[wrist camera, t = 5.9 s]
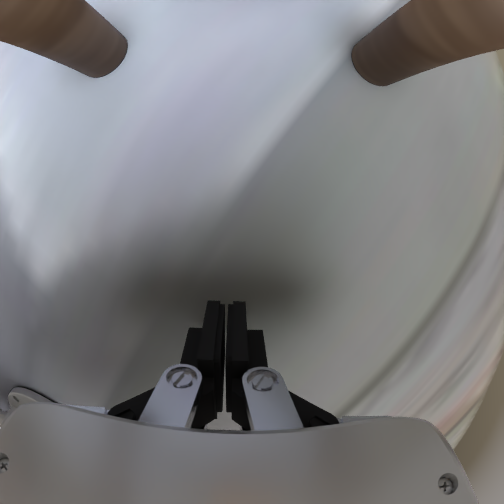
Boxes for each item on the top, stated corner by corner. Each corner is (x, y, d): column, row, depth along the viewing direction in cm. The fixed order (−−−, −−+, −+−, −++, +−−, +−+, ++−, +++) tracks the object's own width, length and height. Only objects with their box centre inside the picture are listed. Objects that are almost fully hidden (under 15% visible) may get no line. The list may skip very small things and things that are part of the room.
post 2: (352, 78, 10) (498, 6, 1) (350, 34, 9) (465, -58, 1) (398, 91, 10) (549, 60, 2) (395, 49, 9) (522, -7, 1)
